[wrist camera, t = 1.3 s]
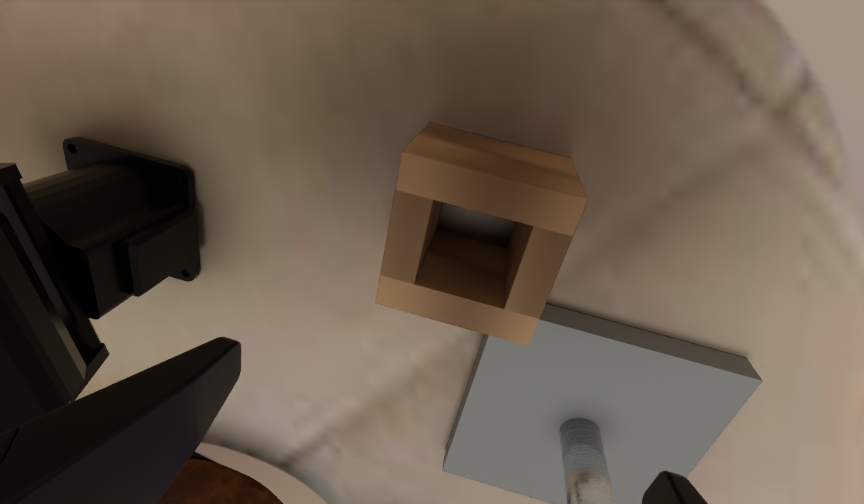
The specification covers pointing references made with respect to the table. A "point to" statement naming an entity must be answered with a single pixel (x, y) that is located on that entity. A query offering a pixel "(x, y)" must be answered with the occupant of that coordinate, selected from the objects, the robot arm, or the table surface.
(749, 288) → the table surface
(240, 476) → the brown pot
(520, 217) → the wooden hollow block
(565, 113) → the table surface
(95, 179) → the robot arm
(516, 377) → the post stand
